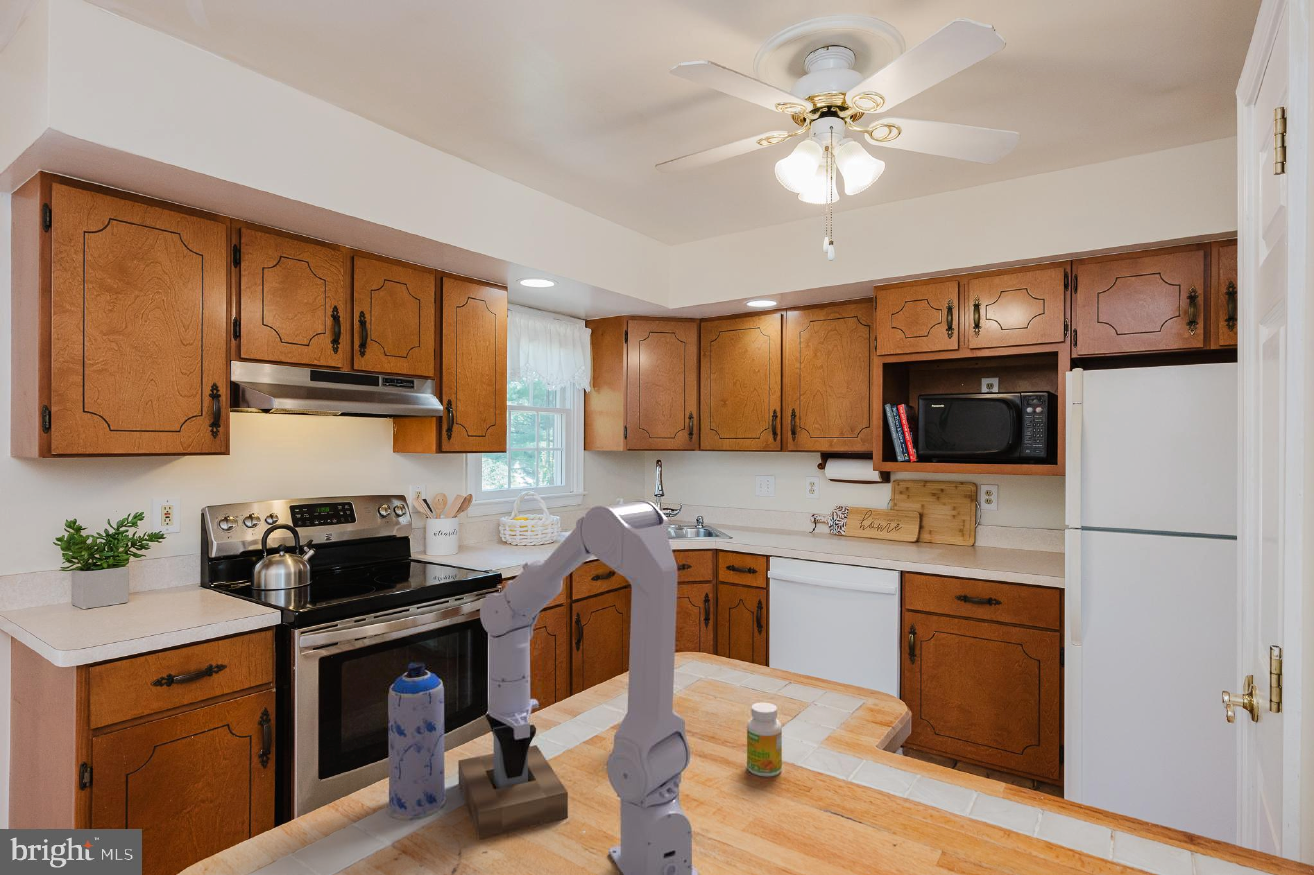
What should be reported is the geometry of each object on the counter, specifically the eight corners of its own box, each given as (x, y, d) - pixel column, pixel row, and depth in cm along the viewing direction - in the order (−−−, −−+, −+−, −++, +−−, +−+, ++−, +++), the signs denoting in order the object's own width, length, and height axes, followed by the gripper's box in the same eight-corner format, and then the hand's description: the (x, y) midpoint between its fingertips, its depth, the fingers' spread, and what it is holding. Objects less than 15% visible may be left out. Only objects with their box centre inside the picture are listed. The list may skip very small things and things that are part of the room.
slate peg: (527, 789, 100) (527, 733, 100) (499, 795, 98) (499, 738, 98) (521, 777, 103) (520, 722, 103) (493, 782, 102) (493, 727, 102)
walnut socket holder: (567, 817, 96) (567, 792, 96) (479, 839, 91) (478, 812, 91) (536, 767, 111) (536, 745, 111) (458, 783, 106) (458, 760, 105)
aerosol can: (457, 799, 101) (456, 661, 101) (413, 826, 94) (412, 677, 94) (420, 785, 105) (419, 652, 105) (375, 810, 98) (374, 667, 98)
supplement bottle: (741, 772, 109) (741, 710, 108) (753, 758, 113) (753, 698, 113) (775, 780, 106) (775, 716, 106) (786, 765, 111) (786, 704, 111)
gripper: (551, 687, 96) (552, 786, 96) (524, 656, 109) (525, 743, 109) (499, 695, 93) (500, 797, 93) (478, 662, 106) (479, 752, 106)
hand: (510, 769), depth 101 cm, fingers closed on slate peg, 4 cm apart
